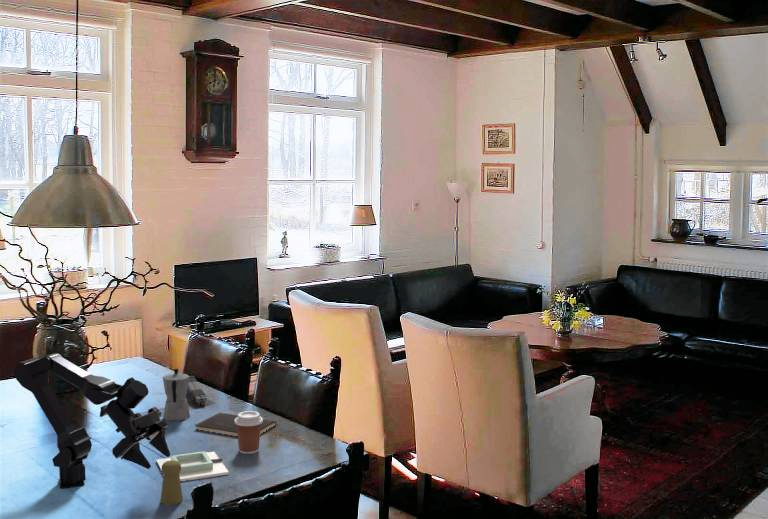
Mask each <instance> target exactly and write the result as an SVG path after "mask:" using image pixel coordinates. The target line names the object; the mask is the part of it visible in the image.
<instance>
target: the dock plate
mask: <svg viewBox="0 0 768 519" xmlns="http://www.w3.org/2000/svg"><path fill="white" fill-rule="evenodd" d="M171 460H174V461H178V462H179V463H180V464H181V471H180V473H179V477H180V481H182V482H188V481H194V480H200V479H207V478H214V477H219V476H226V475H229V474H230V472H229V470H228V469H227V467H226V466H225V464H224V463H223V461H224V459H223V458H222V457H219V455H217V454H216V452H215V451H209V452H206V451H204V450H203V451H196V452H189V453H183V454H175V455H170V457H166V458H158V459H156V460H155V462H156V461H157V463H158V465H159V467H160V469H161V470H160V469H159V470H160V472H161V471H162V465H163V463H165V462H167V461H171ZM157 463H156V464H157ZM158 465H157V466H158ZM159 467H158V468H159ZM162 476H164V474H162ZM187 480H188V481H187Z"/></svg>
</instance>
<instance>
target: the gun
mask: <svg viewBox="0 0 768 519" xmlns="http://www.w3.org/2000/svg"><path fill="white" fill-rule="evenodd" d="M189 376H190V377H189V384H188V391H187V395H188V396H189V398H191V400H192V401H193V403H194V404H195V405H196V406H197V405H198V406H204V404H205V403H206V402H207V395H206V393H205V392H204V391H203V389H202V388H201V386H200V385H199V383H198V380H197V379H196V377H195V375H189ZM198 406H197V407H198Z"/></svg>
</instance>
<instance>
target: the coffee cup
mask: <svg viewBox="0 0 768 519" xmlns="http://www.w3.org/2000/svg"><path fill="white" fill-rule="evenodd" d="M237 415H238V417H237V418H236V419H235V420H234V422H235V424H236V425H237V434H238V437H237V443H238V452H239V451H240V452H241V453H240V452H239V453H240V454H243V453H244V454H245V455H251V454H257V453H258V452H259V451H260V439H261V438H260V437H261V434H260V428H261V423H262V422H263V419H264V418H263V417H262V416H261V415H260V413H259V412H258V411H253V410H250V411H249V410H247V411H246V410H245V411H242V412H239V413H238V414H237Z"/></svg>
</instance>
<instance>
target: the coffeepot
mask: <svg viewBox="0 0 768 519" xmlns="http://www.w3.org/2000/svg"><path fill="white" fill-rule="evenodd" d="M173 372H174V373H169V374H166V375H164V376H162V381H163V387H164V393H165V395H166V400H165V405H164V412H163V416H162V418H164V420H166V421H169V420H175V421H174V422H177V421H176V420H181V421H184V420H183V419H185V420H187V419H189V417H190V416H191V415H190V409H189V405H188V403H189V402H188V400H187V395H188V393H187V391H188V384H189V377H190V376H191V375H188V374H187V373H181V372H179V368H173ZM186 418H187V419H186Z"/></svg>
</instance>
